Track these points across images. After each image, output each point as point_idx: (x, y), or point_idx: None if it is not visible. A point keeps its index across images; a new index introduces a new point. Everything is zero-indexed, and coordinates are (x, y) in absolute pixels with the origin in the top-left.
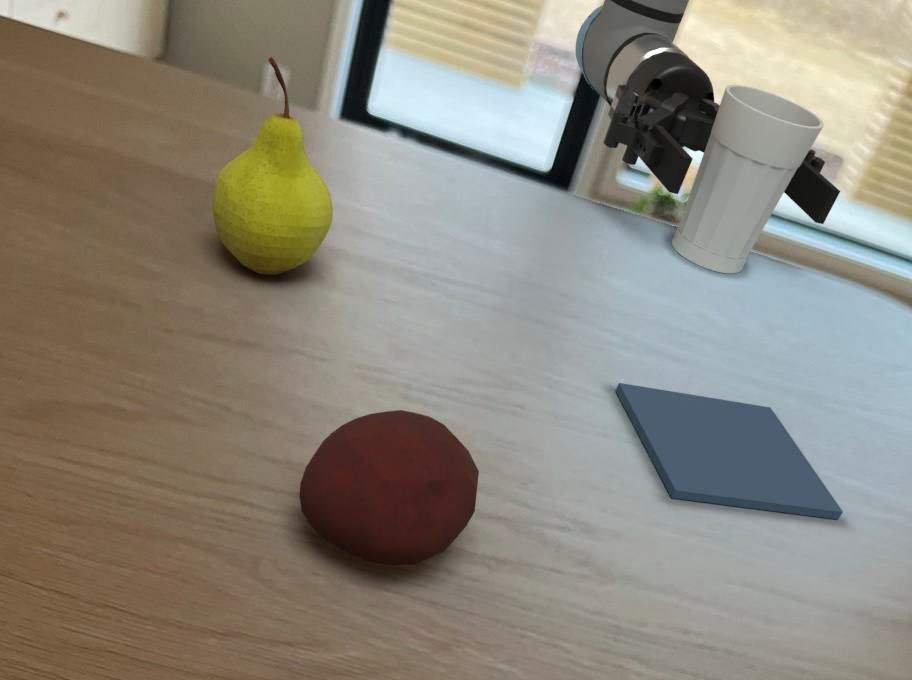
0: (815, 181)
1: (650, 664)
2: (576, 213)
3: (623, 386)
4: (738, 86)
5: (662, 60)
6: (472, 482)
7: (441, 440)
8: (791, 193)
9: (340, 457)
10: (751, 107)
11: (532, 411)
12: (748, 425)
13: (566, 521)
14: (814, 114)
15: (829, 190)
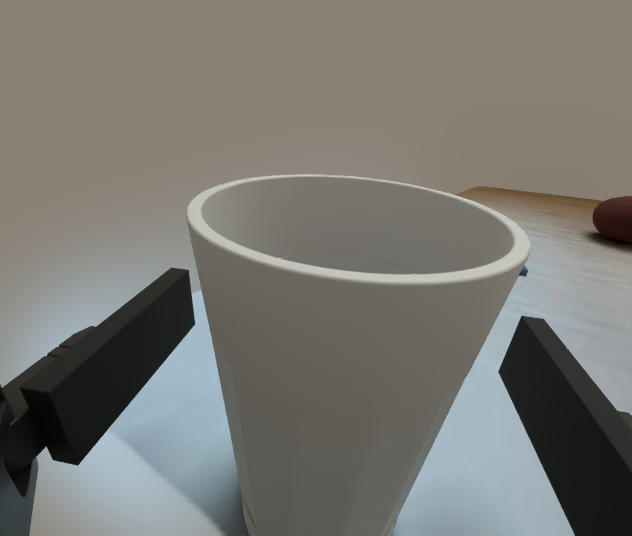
0: (151, 313)
1: (511, 215)
2: None
3: (525, 267)
4: (446, 273)
5: None
6: (602, 202)
7: (624, 198)
8: (118, 406)
9: None
10: (462, 198)
11: (577, 269)
12: None
13: (545, 237)
14: (204, 193)
15: (185, 277)
